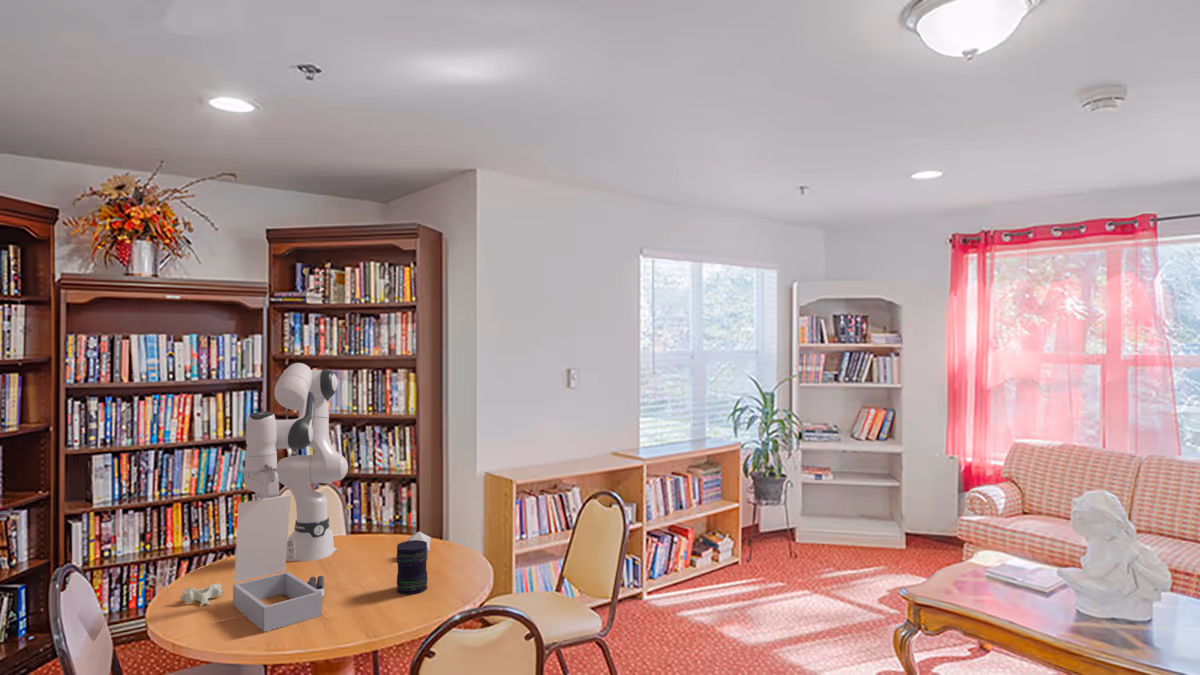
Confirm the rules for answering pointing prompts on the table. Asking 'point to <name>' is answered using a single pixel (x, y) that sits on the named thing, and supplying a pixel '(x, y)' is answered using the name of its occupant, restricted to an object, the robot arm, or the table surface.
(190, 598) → the spine bone
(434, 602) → the table surface
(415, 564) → the dark blue barrel
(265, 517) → the lid
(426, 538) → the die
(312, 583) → the can opener
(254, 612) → the duct
